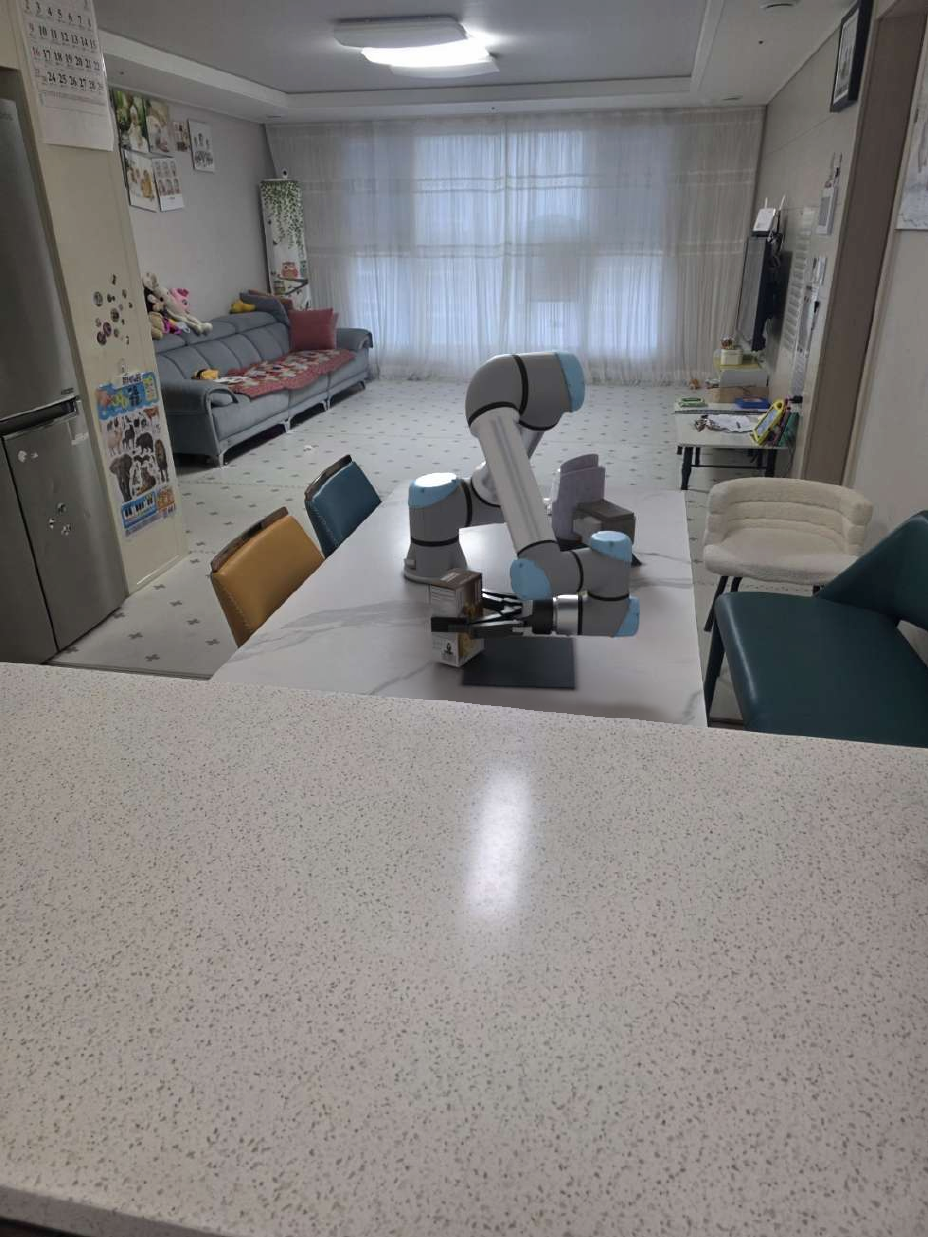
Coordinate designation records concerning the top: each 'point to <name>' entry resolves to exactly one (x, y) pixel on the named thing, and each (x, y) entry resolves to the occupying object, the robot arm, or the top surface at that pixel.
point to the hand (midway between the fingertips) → (435, 611)
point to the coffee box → (456, 614)
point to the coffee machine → (586, 506)
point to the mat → (522, 663)
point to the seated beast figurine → (552, 493)
